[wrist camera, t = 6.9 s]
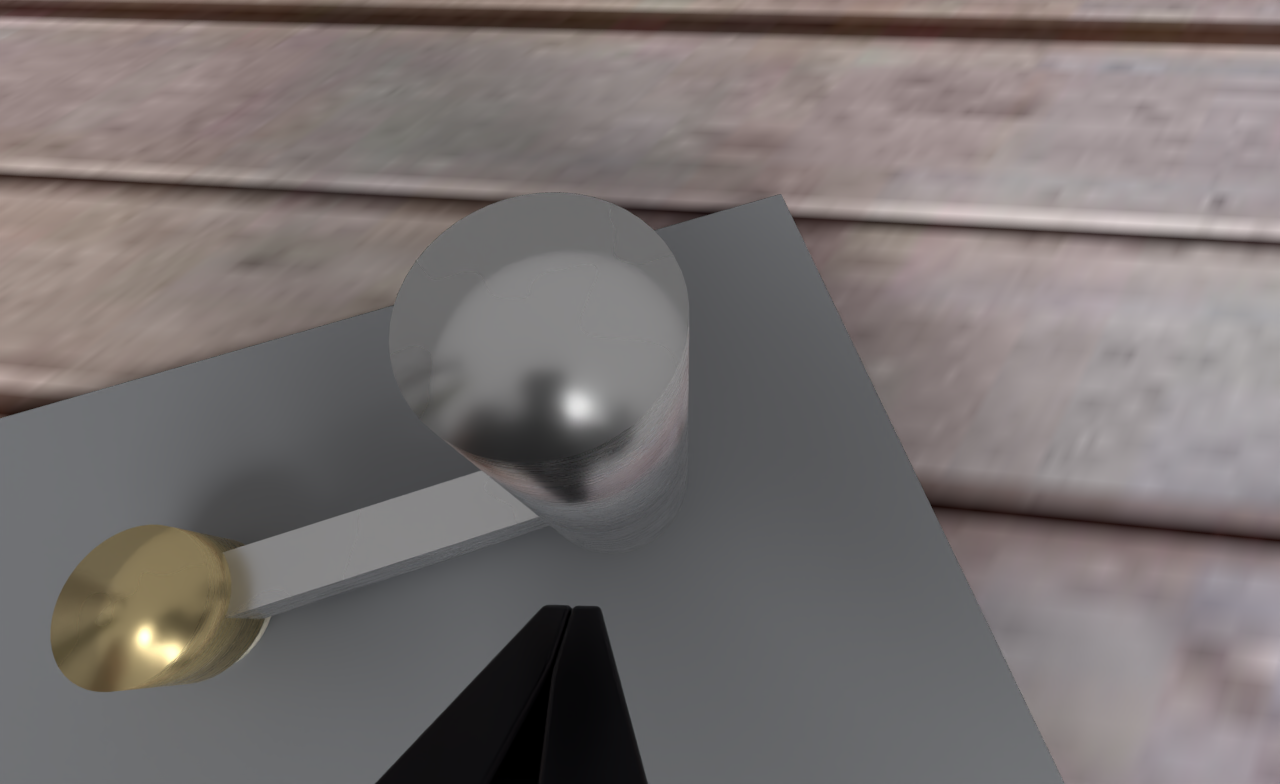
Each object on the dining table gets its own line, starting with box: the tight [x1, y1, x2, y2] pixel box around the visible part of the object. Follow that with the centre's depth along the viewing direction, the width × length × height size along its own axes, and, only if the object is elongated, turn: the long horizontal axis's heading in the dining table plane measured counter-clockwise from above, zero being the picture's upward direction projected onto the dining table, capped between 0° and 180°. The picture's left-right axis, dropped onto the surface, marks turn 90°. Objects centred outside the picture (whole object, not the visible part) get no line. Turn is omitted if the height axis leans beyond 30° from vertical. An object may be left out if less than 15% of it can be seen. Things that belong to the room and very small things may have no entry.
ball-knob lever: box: [50, 192, 689, 692], centre depth 11 cm, size 13×4×8 cm, turn 107°
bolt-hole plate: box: [0, 194, 1064, 784], centre depth 14 cm, size 24×18×1 cm
